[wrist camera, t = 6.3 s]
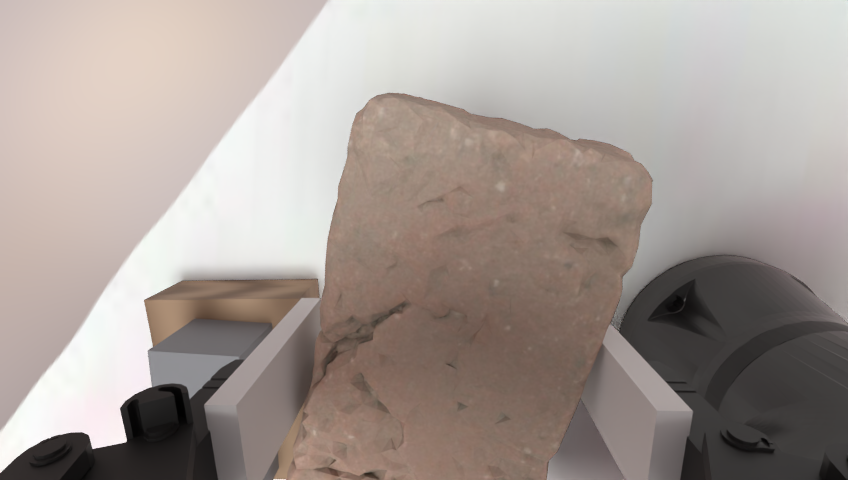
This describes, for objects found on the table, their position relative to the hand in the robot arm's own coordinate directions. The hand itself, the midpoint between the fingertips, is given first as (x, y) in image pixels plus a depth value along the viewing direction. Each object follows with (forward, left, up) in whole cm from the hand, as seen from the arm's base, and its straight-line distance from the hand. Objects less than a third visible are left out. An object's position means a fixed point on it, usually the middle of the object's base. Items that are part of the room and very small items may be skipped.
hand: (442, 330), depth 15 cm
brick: (0, 0, -1) cm, 1 cm away
